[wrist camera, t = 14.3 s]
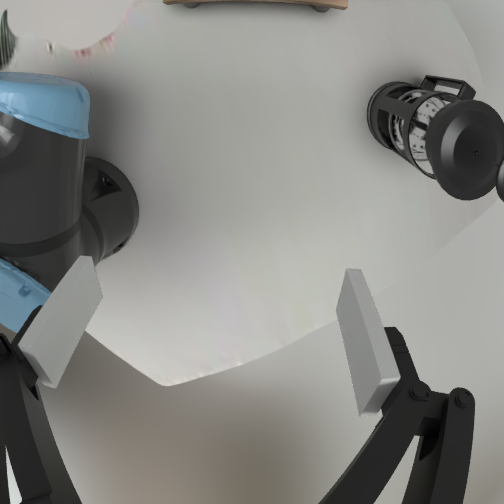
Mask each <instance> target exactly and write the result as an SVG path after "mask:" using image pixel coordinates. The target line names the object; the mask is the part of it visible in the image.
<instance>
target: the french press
mask: <svg viewBox="0 0 504 504" xmlns="http://www.w3.org/2000/svg"><path fill="white" fill-rule="evenodd" d="M436 85H440V86H446V87H450V88H455V89H460V90H459V93H458V95H454V94H451V93H447V92H441V91H434V88H435V86H436ZM399 91H402V92H407V93H405V94H404V95H402V96H401V97H399V98H398V99H394V98H390V97H387V96H388V95H389V94H391V93H394V92H399ZM475 94H476V91H475V90H474V89H473V88H472V87H471V86H470V85H469V84H468V83H466V82H465V81H463V80H457V79H451V78H444V77H437V76H430V75H426V76H425V78H424V80H423V82H422V84H421V85H420V87H417V86H414V85H411V84H409V83H405V82H398V81H397V82H390V83H387V84H385V85H383V86H382V87H380V88H379V89H378V90H377V91H376V92H375V93H374V94H373V96H372V97H371V99H370V102H369V104H368V109H367V121H368V126H369V128H370V131H371V133H372V134H373V136H374V138H375V139H376V140H377V141H378V142H379V143H380V144H381V145H383V146H384V147H386V148H388V149H390V150H393V151H394V152H395V153H397V154H398V155H400V156H401V157H402V158H404V159H405V160H406V161H408V162H409V163H410V164H412V165H413V166H414V167H416V168H417V169H418V170H420V171H421V172H422V173H423V174H425V175H426V176H428V177H430V178H432V179H435V180H437V182H438V183H439V185H440V186H441V187H442V189H444V190H445V191H446V192H447V193H448V194H449V195H451V196H453V197H454V198H456V199H460V200H474V199H478V198H480V197H482V196H484V195H486V194H487V193H488V192H490V191H491V190H492V189H493V188H494V187H495V186H496V190H497V193H498V195H499V197H500V199H501V200H502V201H503V202H504V123H503V121H502V119H501V117H500V116H499V114H498V113H497V112H496V111H495V110H494V109H493V108H492V107H491V106H489V105H488V104H486V103H484V102H482V101H477V100H473V98H474V96H475ZM443 100H445V101H448V102H452V103H450V104H447V105H445V103H444V102H443ZM380 109H381V110H384V111H386V112H389V119H388V125H389V133H390V137H391V139H389V138H388V137H386V136H385V134H384V133H383V132H382V130H381V128H380V126H379V111H380ZM427 160H429V162H430V164H431V166H432V169H433V173H434V174H430V173H427V172H426V171H424V170H423V169H422V168H420V167H419V166H418V165H417V163H416V161H427Z"/></svg>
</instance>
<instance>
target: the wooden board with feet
mask: <svg viewBox="0 0 504 504" xmlns="http://www.w3.org/2000/svg"><path fill="white" fill-rule="evenodd" d="M205 1H270V2H286V3H297V4H306V5H313V8H314V9H315V10H316V11H318V12H326V11H327V10H328V9H330V8H336V9H342V10H345V9H346V8H348V0H163V3H165V4H167V5H169V4H179V3H182V4H184V5H185V6H186V7H188V8H195V7H197V6H198V5H199V4H200V2H205Z"/></svg>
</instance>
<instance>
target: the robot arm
mask: <svg viewBox="0 0 504 504" xmlns="http://www.w3.org/2000/svg"><path fill="white" fill-rule="evenodd" d="M89 111H90V95H89V92H88V90H87V89H86V88H85V87H84V86H83V85H82V84H80V83H78V82H76V81H73V80H69V79H65V78H61V77H56V76H50V75H43V74H35V73H24V72H0V323H1V324H3V325H4V326H6V327H7V328H9V329H11V330H12V331H14V332H16V333H17V335H16V336H15V338H14V339H13V341H12V343H11V344H10V342H9V341H8V339H7V337H6V336H5V335H4V334H3V333H0V504H10V498H9V488H8V478H7V465H6V447H7V451H8V455H9V459H10V462H11V466H12V469H13V473H14V476H15V479H16V482H17V485H18V488H19V491H20V494H21V497H22V502H21V503H20V504H82V502H81V500H80V498H79V496H78V494H77V492H76V490H75V488H74V486H73V484H72V481H71V479H70V477H69V474H68V472H67V470H66V468H65V465H64V463H63V460H62V458H61V455H60V453H59V450H58V447H57V445H56V442H55V439H54V436H53V434H52V431H51V428H50V425H49V422H48V419H47V416H46V412H45V409H44V406H43V402H42V399H41V395H40V391H39V388H38V386H37V384H36V381H37V379H38V377H39V379H40V380H41V382H42V383H43V385H46V386H50V387H53V388H57V385H58V383H59V381H60V379H61V377H62V375H63V373H64V370H65V368H66V366H67V364H68V362H69V360H70V358H71V356H72V354H73V352H74V350H75V348H76V346H77V344H78V342H79V340H80V338H81V336H82V334H83V332H84V330H85V329H86V327H87V325H88V323H89V321H90V319H91V317H92V315H93V314H94V312H95V310H96V308H97V306H98V304H99V303H100V301H101V299H102V297H103V295H102V292H101V288H100V285H99V282H98V278H97V275H96V271H95V267H96V265H97V264H98V262H100V261H102V260H103V259H105V258H107V257H109V256H111V255H113V254H114V253H116V252H118V251H119V250H120V249H122V248H123V247H124V246H125V245H126V244H127V242H128V241H129V239H130V238H131V236H132V235H133V233H134V231H135V229H136V227H137V223H138V218H139V208H138V201H137V198H136V194H135V192H134V190H133V188H132V186H131V184H130V182H129V181H128V179H127V178H126V177H125V176H124V174H123V173H122V172H121V171H120V170H118V169H117V168H116V167H115V166H113V165H112V164H110V163H108V162H106V161H104V160H101V159H97V158H91V157H86V158H85V152H86V144H87V139H88V138H89V130H88V123H89ZM336 312H337V316H338V321H339V325H340V329H341V333H342V337H343V342H344V346H345V350H346V354H347V359H348V364H349V368H350V372H351V378H352V382H353V387H354V392H355V397H356V402H357V407H358V412H359V417H362V416H372V415H377V413H378V412H379V410H380V409H381V410H382V414H383V417H382V418H381V420H380V421H379V422H378V424H377V425H376V426H375V427H376V428H375V429H374V431H373V432H372V434H371V435H370V437H369V438H368V440H367V441H366V443H365V444H364V445H363V447H362V448H361V450H360V451H359V453H358V454H357V455H356V457H355V458H354V459H353V461H352V462H351V464H350V465H349V466H348V468H347V469H346V470H345V472H344V473H343V474H342V475H341V477H340V478H339V479H338V481H337V482H336V483H335V484H334V486H333V487H332V488H331V489H330V491H329V492H328V493H327V494H326V495H325V497H324V498H323V499H322V500H321V501H320V502H319V504H373V503H374V502H375V501H376V499H377V498H378V496H379V495H380V493H381V492H382V490H383V489H384V487H385V486H386V484H387V482H388V481H389V479H390V478H391V476H392V474H393V473H394V471H395V469H396V468H397V466H398V464H399V462H400V461H401V459H402V457H403V456H404V454H405V452H406V450H407V448H408V447H409V445H410V443H411V441H412V439H413V437H414V435H417V436H420V438H419V442H418V447H417V451H416V455H415V460H414V463H413V467H412V471H411V475H410V478H409V481H408V485H407V489H406V492H405V495H404V498H403V501H402V504H463V499H464V494H465V489H466V484H467V478H468V472H469V465H470V458H471V450H472V440H473V430H474V415H475V400H474V397H473V395H472V393H470V392H469V391H468V390H467V389H465V388H459V387H458V388H455V389H453V390H452V391H451V392H450V394H445V393H439V392H434V391H431V389H430V388H429V386H428V385H427V384H425V383H424V382H422V381H420V380H419V377H418V375H417V372H416V369H415V367H414V364H413V361H412V358H411V356H410V353H409V351H408V348H407V346H406V343H405V340H404V338H403V335H402V334H401V333H400V332H399V331H398V330H397V328H396V327H383V325H382V322H381V319H380V316H379V314H378V311H377V309H376V306H375V303H374V301H373V298H372V296H371V293H370V291H369V288H368V286H367V283H366V281H365V278H364V276H363V273H362V271H361V269H346V272H345V277H344V281H343V285H342V289H341V293H340V297H339V300H338V304H337V308H336Z"/></svg>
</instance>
